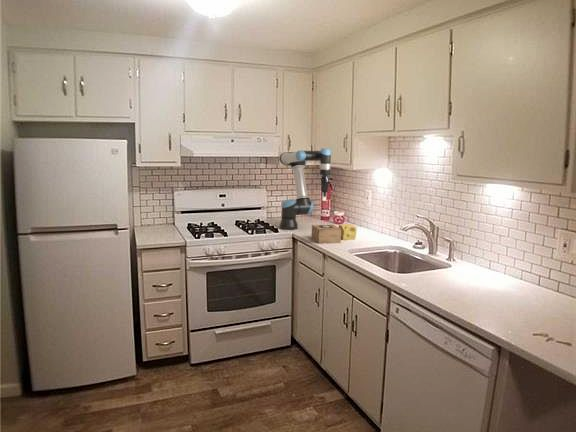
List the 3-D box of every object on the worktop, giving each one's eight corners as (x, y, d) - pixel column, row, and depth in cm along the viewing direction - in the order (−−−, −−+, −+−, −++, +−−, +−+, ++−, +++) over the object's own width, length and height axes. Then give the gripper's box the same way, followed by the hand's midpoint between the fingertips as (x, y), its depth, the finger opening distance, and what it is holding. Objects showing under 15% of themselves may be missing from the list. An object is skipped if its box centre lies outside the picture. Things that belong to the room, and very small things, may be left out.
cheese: (343, 240, 307) (343, 226, 305) (337, 237, 317) (337, 224, 315) (356, 239, 310) (356, 226, 308) (350, 236, 320) (350, 223, 318)
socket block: (311, 238, 311) (311, 224, 310) (332, 237, 315) (332, 223, 313) (318, 243, 294) (319, 229, 292) (340, 243, 298) (341, 228, 296)
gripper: (317, 168, 321) (316, 199, 325) (323, 169, 308) (321, 201, 312) (327, 168, 323) (326, 199, 326) (332, 169, 310) (331, 201, 314)
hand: (324, 200), depth 319 cm, fingers closed
